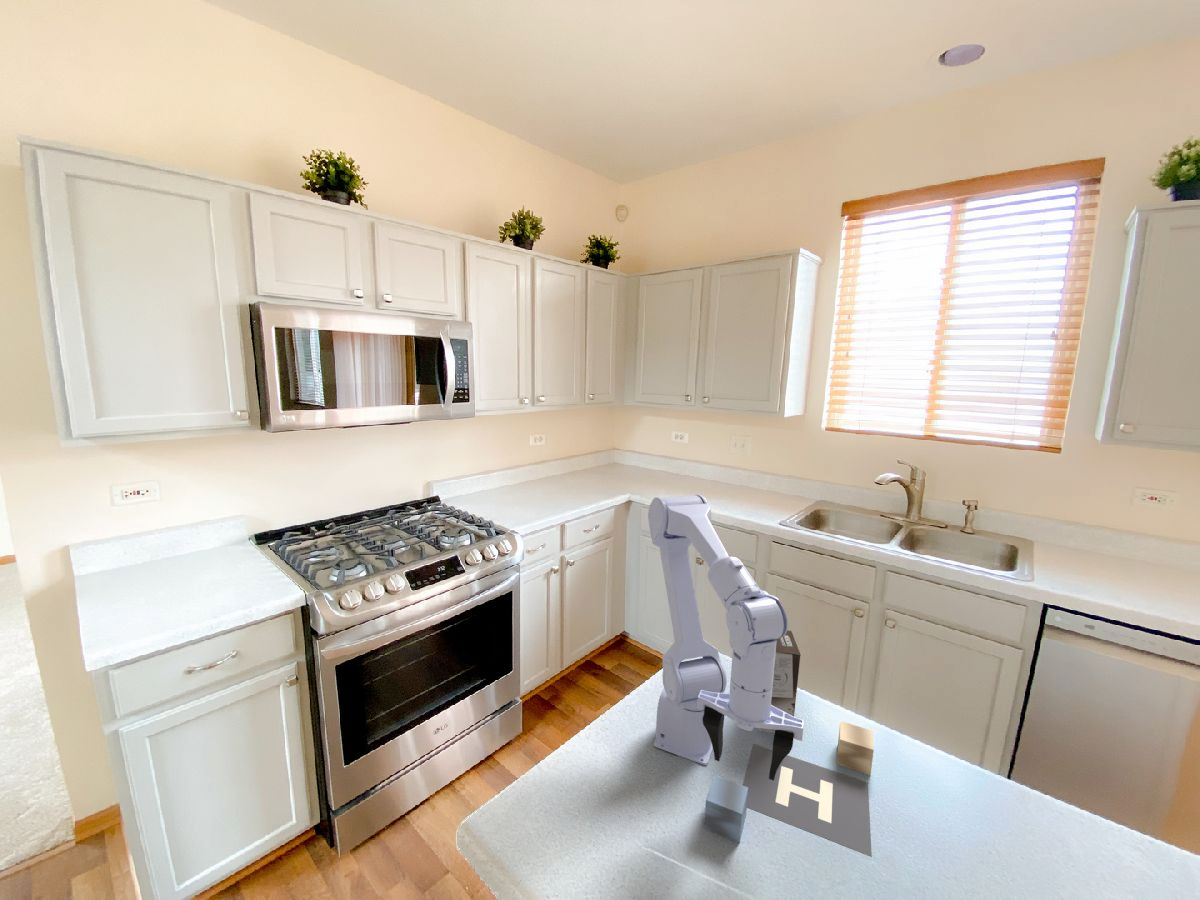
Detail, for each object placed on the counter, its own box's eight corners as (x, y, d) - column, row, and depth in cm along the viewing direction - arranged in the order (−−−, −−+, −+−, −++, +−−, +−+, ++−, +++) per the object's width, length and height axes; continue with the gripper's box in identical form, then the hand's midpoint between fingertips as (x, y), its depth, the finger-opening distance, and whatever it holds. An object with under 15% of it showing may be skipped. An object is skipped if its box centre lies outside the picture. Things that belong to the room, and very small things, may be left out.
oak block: (836, 765, 84) (839, 739, 83) (837, 746, 88) (840, 721, 88) (870, 777, 82) (873, 749, 81) (869, 756, 86) (872, 730, 85)
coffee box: (793, 737, 90) (801, 655, 88) (756, 731, 91) (763, 650, 89) (785, 705, 99) (792, 629, 96) (752, 700, 100) (758, 625, 98)
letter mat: (737, 804, 76) (737, 803, 76) (753, 744, 88) (753, 743, 88) (871, 857, 68) (871, 856, 68) (867, 783, 80) (867, 782, 80)
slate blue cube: (703, 830, 71) (705, 799, 71) (712, 803, 76) (714, 774, 75) (739, 845, 69) (741, 814, 68) (745, 817, 74) (748, 787, 73)
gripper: (693, 680, 70) (688, 766, 72) (804, 712, 64) (795, 805, 66) (705, 655, 76) (700, 735, 78) (807, 682, 70) (799, 768, 72)
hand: (744, 765), depth 72 cm, fingers open, 7 cm apart
